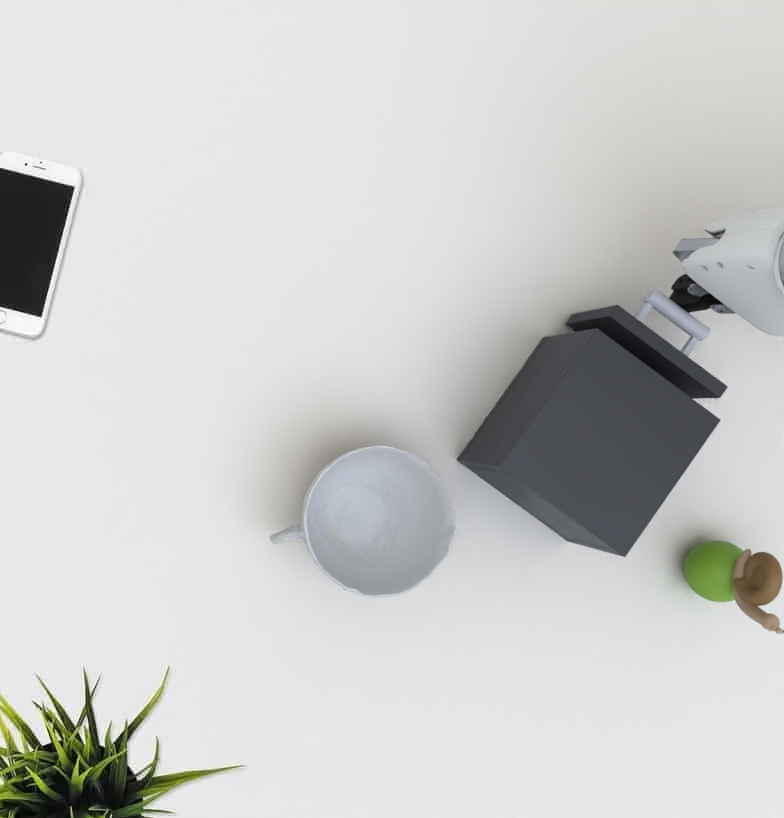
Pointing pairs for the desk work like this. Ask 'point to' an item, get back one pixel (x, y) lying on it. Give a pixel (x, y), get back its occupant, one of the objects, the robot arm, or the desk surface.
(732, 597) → the snail figurine
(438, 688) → the desk surface
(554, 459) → the air fryer
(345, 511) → the teacup
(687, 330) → the fryer drawer
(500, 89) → the desk surface
